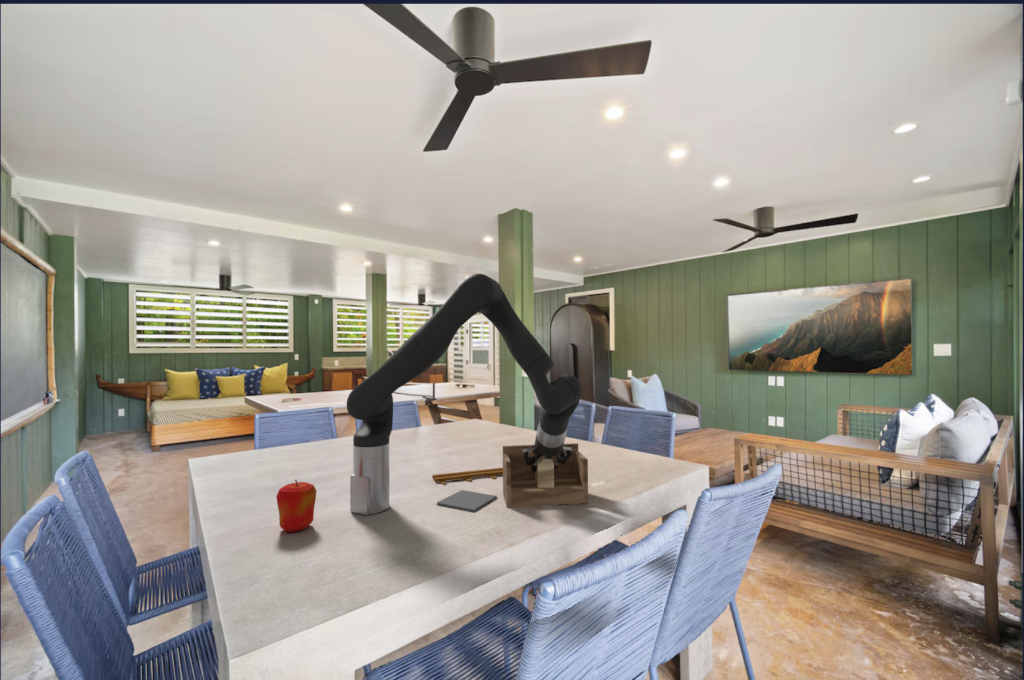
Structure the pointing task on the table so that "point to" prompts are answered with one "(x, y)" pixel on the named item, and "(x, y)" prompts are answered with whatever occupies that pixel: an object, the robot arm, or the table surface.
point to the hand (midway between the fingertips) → (543, 468)
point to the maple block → (545, 474)
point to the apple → (296, 506)
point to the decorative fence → (467, 475)
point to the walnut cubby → (526, 493)
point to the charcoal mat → (467, 500)
